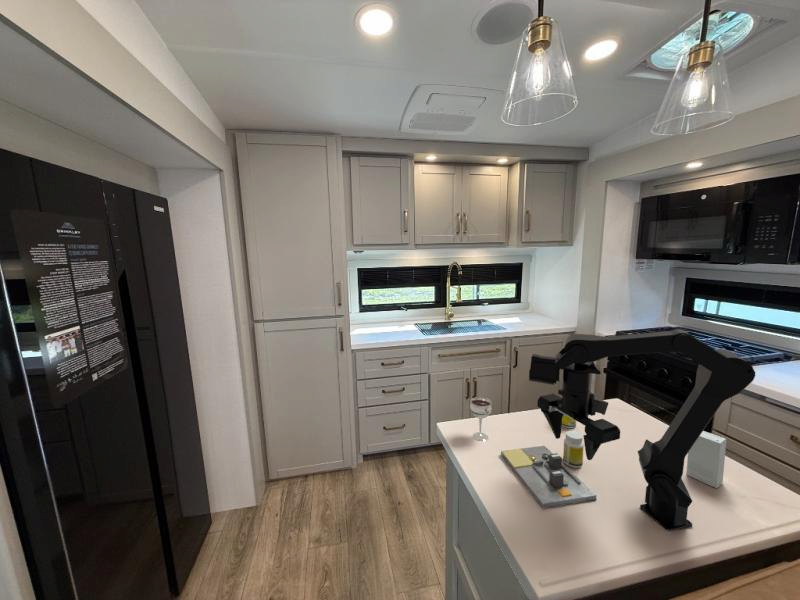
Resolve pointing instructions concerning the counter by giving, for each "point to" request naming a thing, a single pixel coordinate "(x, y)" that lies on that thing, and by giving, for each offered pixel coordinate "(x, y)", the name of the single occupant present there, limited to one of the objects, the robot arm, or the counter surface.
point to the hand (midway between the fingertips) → (572, 448)
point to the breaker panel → (542, 488)
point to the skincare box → (707, 459)
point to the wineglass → (480, 414)
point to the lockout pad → (517, 458)
